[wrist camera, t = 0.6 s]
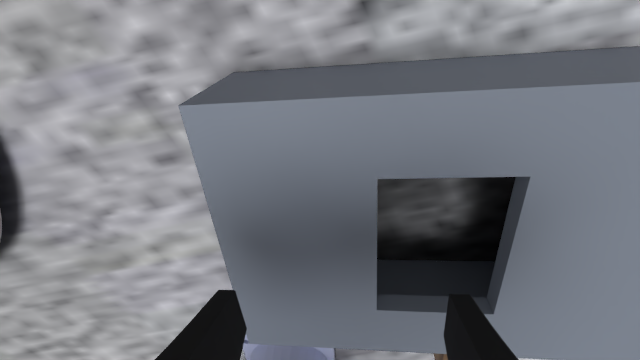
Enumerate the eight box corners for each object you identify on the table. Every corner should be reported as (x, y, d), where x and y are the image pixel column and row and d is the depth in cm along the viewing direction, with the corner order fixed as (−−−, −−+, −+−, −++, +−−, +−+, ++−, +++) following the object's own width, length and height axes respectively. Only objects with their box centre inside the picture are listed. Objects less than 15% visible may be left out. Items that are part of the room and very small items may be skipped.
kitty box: (569, 274, 21) (637, 363, 16) (273, 268, 24) (249, 343, 19) (661, 44, 14) (830, 72, 9) (233, 72, 17) (178, 105, 12)
